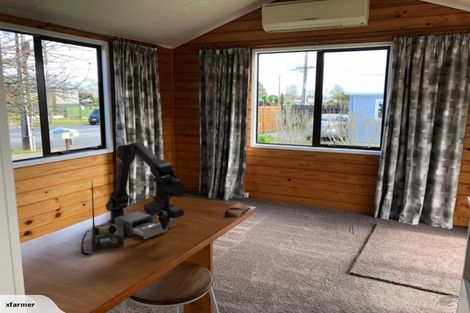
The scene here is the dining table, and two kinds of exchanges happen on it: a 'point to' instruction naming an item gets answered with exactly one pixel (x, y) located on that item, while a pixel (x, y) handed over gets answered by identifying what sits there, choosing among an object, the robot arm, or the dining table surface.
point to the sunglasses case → (236, 210)
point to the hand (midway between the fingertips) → (164, 229)
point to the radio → (105, 235)
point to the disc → (145, 226)
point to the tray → (149, 230)
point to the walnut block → (172, 223)
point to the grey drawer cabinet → (133, 221)
